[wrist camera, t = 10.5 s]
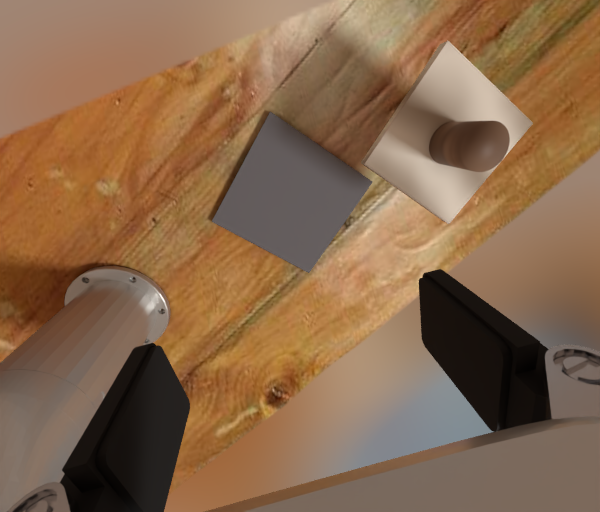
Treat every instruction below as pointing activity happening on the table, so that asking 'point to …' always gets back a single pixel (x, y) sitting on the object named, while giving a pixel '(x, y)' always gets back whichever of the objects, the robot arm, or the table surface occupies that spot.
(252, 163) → the mat
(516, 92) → the table surface
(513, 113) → the lid
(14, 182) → the table surface
